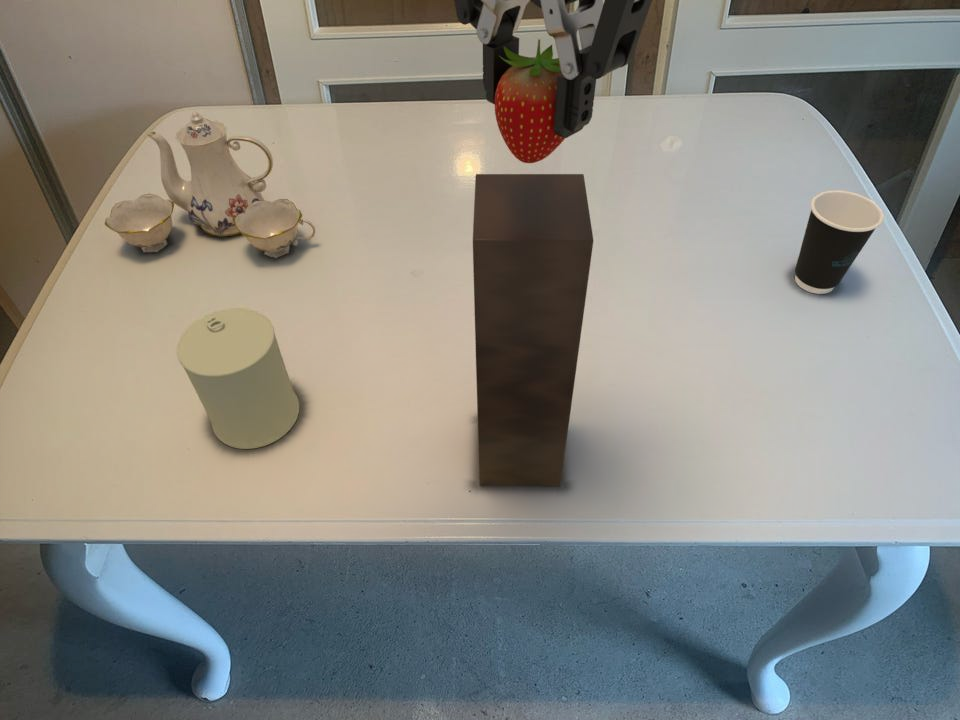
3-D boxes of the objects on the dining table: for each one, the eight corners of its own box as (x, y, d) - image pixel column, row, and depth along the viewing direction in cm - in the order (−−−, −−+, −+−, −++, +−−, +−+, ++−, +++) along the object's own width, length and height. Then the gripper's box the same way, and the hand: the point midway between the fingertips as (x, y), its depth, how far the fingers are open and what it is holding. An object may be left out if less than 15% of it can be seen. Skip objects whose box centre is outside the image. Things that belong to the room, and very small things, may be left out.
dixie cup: (791, 254, 91) (820, 182, 83) (854, 274, 88) (890, 202, 80) (774, 288, 86) (803, 215, 78) (839, 310, 83) (876, 237, 75)
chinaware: (109, 278, 92) (44, 178, 78) (144, 196, 102) (91, 95, 88) (317, 273, 92) (287, 172, 78) (331, 192, 102) (306, 91, 88)
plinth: (479, 485, 67) (472, 240, 45) (480, 421, 73) (475, 173, 51) (560, 486, 67) (593, 240, 45) (556, 421, 72) (583, 173, 50)
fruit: (530, 134, 48) (536, 14, 42) (588, 161, 45) (603, 37, 40) (476, 164, 45) (474, 41, 39) (535, 194, 43) (542, 67, 37)
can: (274, 369, 78) (246, 290, 69) (315, 418, 73) (291, 340, 64) (198, 410, 74) (158, 332, 65) (236, 464, 69) (198, 388, 60)
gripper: (387, -249, 32) (415, 97, 45) (630, -217, 25) (583, 184, 37) (499, -262, 36) (496, 62, 48) (740, -238, 29) (664, 135, 41)
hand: (534, 114), depth 43 cm, fingers closed on fruit, 5 cm apart
